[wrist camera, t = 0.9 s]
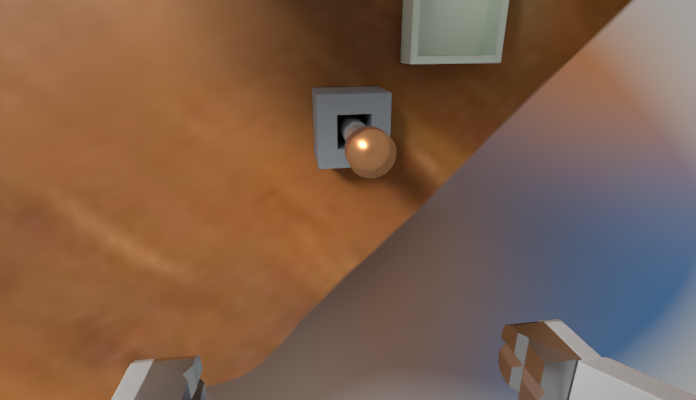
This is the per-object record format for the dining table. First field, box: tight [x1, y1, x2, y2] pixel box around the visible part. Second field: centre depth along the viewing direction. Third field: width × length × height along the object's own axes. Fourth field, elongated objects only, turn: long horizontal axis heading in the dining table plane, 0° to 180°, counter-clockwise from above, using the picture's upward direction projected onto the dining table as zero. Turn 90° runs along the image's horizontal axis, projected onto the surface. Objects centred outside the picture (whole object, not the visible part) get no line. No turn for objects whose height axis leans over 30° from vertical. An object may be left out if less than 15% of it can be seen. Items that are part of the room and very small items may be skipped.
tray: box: [400, 0, 509, 64], centre depth 32 cm, size 8×8×3 cm
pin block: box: [312, 86, 392, 169], centre depth 33 cm, size 6×6×5 cm
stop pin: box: [337, 114, 396, 178], centre depth 30 cm, size 3×3×12 cm
